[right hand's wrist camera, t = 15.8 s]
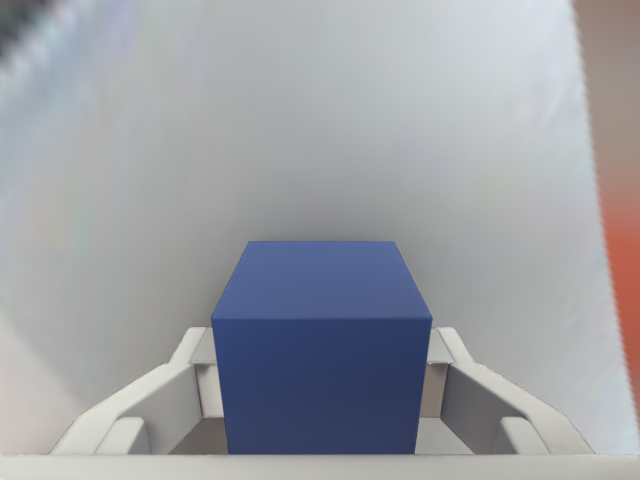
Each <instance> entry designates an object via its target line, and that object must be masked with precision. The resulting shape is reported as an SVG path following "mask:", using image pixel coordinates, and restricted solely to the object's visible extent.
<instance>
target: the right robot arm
mask: <svg viewBox="0 0 640 480" xmlns="http://www.w3.org/2000/svg"><path fill="white" fill-rule="evenodd" d="M212 417H224V414H223V406H222V398H221V391H220V383H219V375H218V368H217V360H216V353H215V345H214V337H213V330H212V327H208V328H207V327H191V328H189V329H188V330H187V331H186V333H185V335H184V337H183V338H182V340H181V342H180V344H179V345H178V347H177V349H176V350H175V352H174V354H173V356H172V357H171V359H170V361H169V363H163V364H161V365H159V366H158V367H156V368H155V369H153V370H151V371H150V372H148V373H146V374H145V375H143V376H142V377H140V378H138V379H137V380H135V381H133V382H132V383H130V384H128V385H127V386H125V387H124V388H122V389H120V390H119V391H117V392H115V393H114V394H112V395H111V396H109V397H107V398H106V399H104V400H102V401H101V402H99V403H98V404H96V405H94V406H93V407H91V408H89V409H88V410H86V411H85V412H83V413H81V414H80V415H78V416H77V418H76V419H75V420H74V422H73V423H72V424H71V426H70V427H69V428H68V429H67V431H66V432H65V433H64V435H63V436H62V437H61V439H60V440H59V441H58V442H57V444H56V445H55V446H54V448H53V449H52V450H51V452H50V453H49V454H48V455H16V454H0V480H640V454H596V453H595V452H594V451H593V449H592V448H591V447H590V445H589V444H588V443H587V442H586V440H585V439H584V438H583V436H582V435H581V434H580V433H579V431H578V430H577V429H576V427H575V426H574V425H573V424H572V422H571V421H570V420H569V418H568V417H567V416H566V415H564V414H563V413H561V412H559V411H558V410H556V409H554V408H553V407H551V406H550V405H548V404H546V403H545V402H543V401H541V400H540V399H538V398H536V397H535V396H533V395H532V394H530V393H528V392H527V391H525V390H523V389H522V388H520V387H518V386H517V385H515V384H514V383H512V382H510V381H509V380H507V379H505V378H504V377H502V376H500V375H499V374H497V373H496V372H494V371H492V370H491V369H489V368H487V367H486V366H484V365H482V364H481V363H475V362H474V360H473V358H472V357H471V355H470V353H469V352H468V350H467V348H466V347H465V345H464V343H463V342H462V340H461V338H460V337H459V335H458V333H457V332H456V330H455V329H454V328H453V327H435V328H431V334H430V341H429V349H428V356H427V364H426V371H425V379H424V386H423V394H422V401H421V408H420V416H419V417H431V418H441V420H442V421H443V422H444V423H445V424H446V425H447V426H448V427H449V428H450V429H451V430H452V431H453V432H454V433H455V434H456V435H457V436H458V437H459V438H460V439H461V440H462V441H463V442H464V444H465V445H466V446H467V447H468V448H469V449H470V450H471V451H472V452H473V453H474V454H475V455H443V454H306V455H168V454H169V453H170V452H171V451H172V450H173V449H174V448H175V447H176V446H177V445H178V444H179V443H180V442H181V441H182V440H183V439H184V438H185V437H186V436H187V435H188V434H189V433H190V432H191V431H192V430H193V429H194V428H195V427H196V426H197V425H198V424H199V423H200V422H201V421H202V418H212Z"/></svg>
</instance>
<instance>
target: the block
mask: <svg viewBox="0 0 640 480" xmlns="http://www.w3.org/2000/svg"><path fill="white" fill-rule="evenodd" d="M432 319H433V318H432V316H431V314H430V312H429V310H428V308H427V306H426V304H425V302H424V300H423V298H422V296H421V294H420V292H419V290H418V288H417V286H416V284H415V282H414V280H413V278H412V276H411V274H410V273H409V271H408V269H407V267H406V265H405V263H404V261H403V259H402V257H401V255H400V253H399V251H398V249H397V247H396V245H395V243H394V242H249V243H248V245H247V247H246V249H245V251H244V253H243V255H242V257H241V259H240V261H239V263H238V265H237V267H236V269H235V271H234V273H233V275H232V277H231V279H230V281H229V283H228V285H227V287H226V289H225V291H224V293H223V295H222V297H221V299H220V301H219V303H218V305H217V307H216V309H215V311H214V313H213V315H212V317H211V322H212V330H213V337H214V345H215V353H216V360H217V368H218V375H219V383H220V391H221V398H222V406H223V414H224V421H225V429H226V436H227V444H228V452H229V455H306V454H414V453H415V446H416V438H417V431H418V423H419V416H420V408H421V401H422V394H423V386H424V379H425V371H426V364H427V356H428V349H429V341H430V334H431V326H432Z"/></svg>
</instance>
